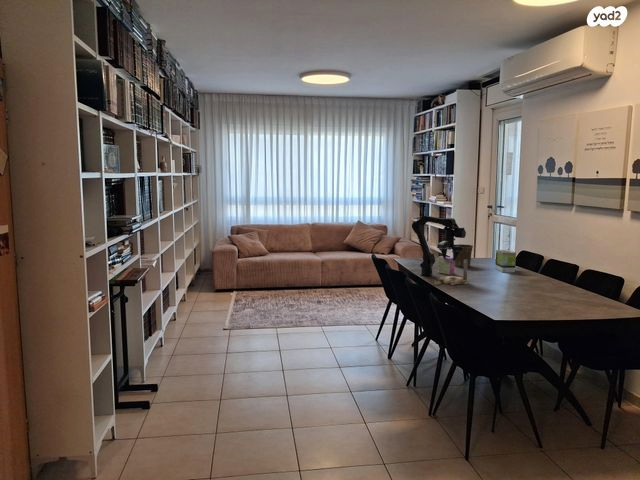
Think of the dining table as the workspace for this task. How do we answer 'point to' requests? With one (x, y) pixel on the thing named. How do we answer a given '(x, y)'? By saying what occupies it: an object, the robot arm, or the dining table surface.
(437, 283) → the pointer
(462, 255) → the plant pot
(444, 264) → the box
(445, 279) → the index wheel
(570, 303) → the dining table surface
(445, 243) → the robot arm
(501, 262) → the tea box
